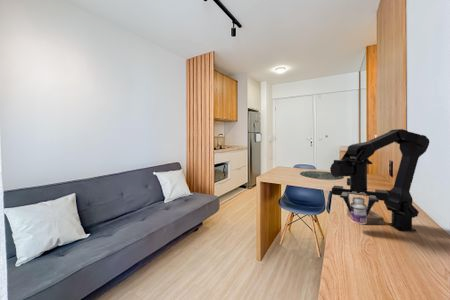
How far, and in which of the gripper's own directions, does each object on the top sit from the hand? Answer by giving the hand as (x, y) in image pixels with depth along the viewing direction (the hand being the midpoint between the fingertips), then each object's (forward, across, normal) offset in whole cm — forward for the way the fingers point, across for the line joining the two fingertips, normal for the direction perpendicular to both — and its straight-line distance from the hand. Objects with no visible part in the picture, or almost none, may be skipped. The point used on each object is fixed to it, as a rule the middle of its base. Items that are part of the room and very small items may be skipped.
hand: (358, 213), depth 78 cm
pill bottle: (+4, 0, 0) cm, 4 cm away
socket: (+8, -2, -15) cm, 17 cm away
